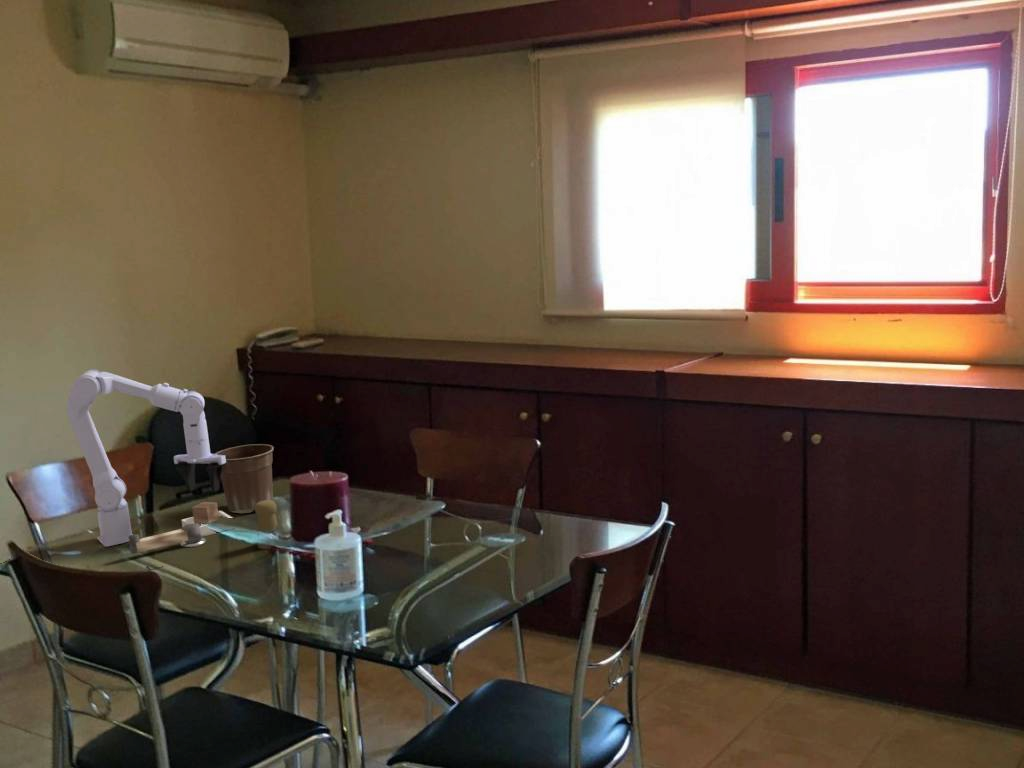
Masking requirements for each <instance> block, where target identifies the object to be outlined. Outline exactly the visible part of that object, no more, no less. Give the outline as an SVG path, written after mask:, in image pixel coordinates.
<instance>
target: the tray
mask: <svg viewBox="0 0 1024 768" xmlns="http://www.w3.org/2000/svg"><path fill="white" fill-rule="evenodd" d="M218 514H219V516H223V517H227V518H233V516H231V515H229V514H227V513H226V512H224V511H223V510H218ZM188 524H194V518H193V516H191V517H187V518H183V519H181V525H182V527H181V529H183V526H185V525H188ZM207 525H208V524H207ZM207 525H203V526H200V533H201V538H204V537H207V536H209V535H210V536H212V535H214V534H217V533H216V532H214V531H212V530H210V529H209V528H208V527H206V526H207Z"/></svg>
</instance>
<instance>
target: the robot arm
mask: <svg viewBox="0 0 1024 768" xmlns="http://www.w3.org/2000/svg"><path fill="white" fill-rule="evenodd" d="M114 392H118V393H123V394H127V395H131V396H135V397H138V398H143V399H146V400H148V401H149V403H150V404H151V406H154V407H158V408H161V409H164V410H168V411H172V412H176V413H177V412H180V414H181V415H182V420H183V423H182V425H183V426H182V427H183V432H184V439H185V446H186V447H185V448H186V454H177V455H174V456H173V462H174V463H173V464H174V465H177V466H176V467H175V469H176V471H177V472H178V473H179V474H180V475H181V478H182V479H183V481H184V483H185V485H186V487H187V490H188V492H192V491H194V490H196V487H197V486H196V477H195V469H196V464H206V466H205V470H206V473H207V475H208V478H209V481H210V489H211V491H212V492H213V493H215V492H217V491H219V490H220V482H221V474H222V471H223V468H224V466H225V463H226V457H225V455H217V454H215V453H211V448H210V447H211V446H210V440H209V432H208V425H207V419H206V414H205V411H204V408H205V405H206V404H205V403H206V402H205V399H204V396H203V395H202V394H201V393H199V392H197V391H195V390H190V391H189V390H188V389H186V388H183V390H182V389H179V388H176V387H172V386H170V384H169V383H167V382H163V384H162V383H158V384H155V385H153V386H151V385H148V384H145V383H142V382H138V381H135V380H133V379H130V378H127V377H124V376H120V375H117V374H114V373H112V372H107V371H99V370H97V369H88V370H86V371H84V372H83V373H82V375H80V376H78V377H77V378H76V379H75V381H73V384H71V386H70V388H69V392H68V393H69V394H68V399H67V404H66V408H65V412H66V415H67V419H68V421H69V423H70V426H71V428H72V430H73V433H74V435H75V437H76V440H77V442H78V444H79V447H80V450H81V453H82V455H83V456H84V458H85V461H86V464H87V466H88V468H89V471H90V474H91V476H92V486H93V488H94V489H93V490H94V501H95V502H94V503H96V506H97V511H98V512H97V522H98V528H99V533H100V534H99V536H97V537H96V540H98V541H99V543H101V545H103V547H106V548H108V547H111V546H116V545H119V544H125V543H129V536H130V535H133V532H132V527H131V526H132V524H131V518H130V511H129V505H128V502H127V501H126V499H125V498H124V497H125V495H126V493H127V486H126V483H125V482H124V480H122V479H121V478H120V477H119V476H118V473H117V471H116V470H115V469H114V468H113V467H112V465H111V462H110V460H109V458H108V455H107V452H106V450H105V447H104V445H103V443H102V440H101V439H100V436H99V435H100V434H99V433H98V431H97V429H96V426H95V423H94V420H93V419H92V416H91V414H90V412H89V411H90V408H91V406H92V404H93V402H94V401H95V398H97V396H98V395H100V394H102V396H105V395H108V394H110V393H114ZM207 464H208V465H207Z"/></svg>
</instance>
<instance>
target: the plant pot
mask: <svg viewBox="0 0 1024 768" xmlns="http://www.w3.org/2000/svg"><path fill="white" fill-rule="evenodd" d="M274 448H275V447H274V446H273V445H271V444H267V443H266V444H265V443H264V444H263V443H259V444H257V443H256V444H245V445H239V446H238V445H237V446H234V447H233V446H232V447H227V448H226V449H222V450H220V451H219V450H218V451H216V452H215V453H214V454H217V455H225V457H226V463H225V466H224V468H223V471H222V474H221V478H220V481H221V484H222V488H223V489H222V490H223V492H224V493H223V494H224V496H225V501H226V506H227V509H228V510H227V511H229V512H230V511H236V510H245V509H251V508H255V505H256V504H257V503H258V502H260V501H264V500H272V499H273V500H274V492H273V491H274V490H273V488H274V486H273V468H272V467H273V466H272V464H273V459H274V458H273V452H274Z"/></svg>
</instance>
